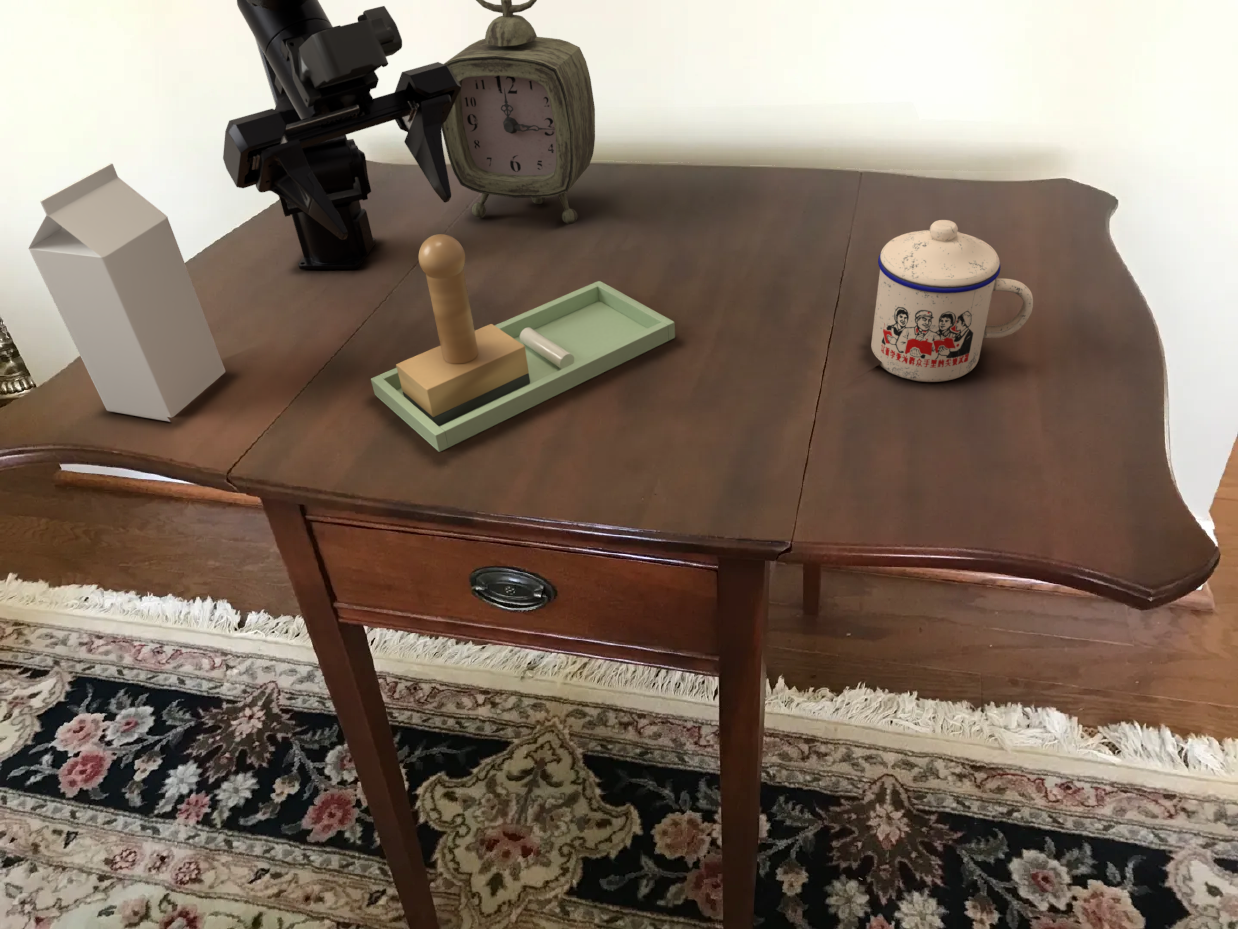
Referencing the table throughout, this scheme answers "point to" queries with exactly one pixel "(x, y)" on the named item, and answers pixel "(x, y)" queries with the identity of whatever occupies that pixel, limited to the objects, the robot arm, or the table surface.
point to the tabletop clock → (520, 113)
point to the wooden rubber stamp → (458, 345)
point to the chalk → (546, 348)
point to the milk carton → (125, 296)
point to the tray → (580, 324)
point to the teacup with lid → (938, 303)
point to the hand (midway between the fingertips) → (398, 217)
